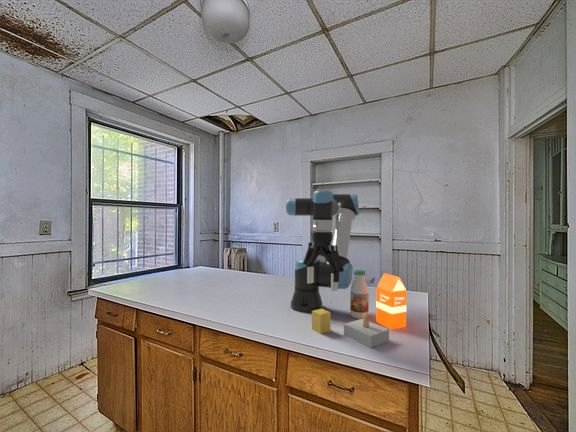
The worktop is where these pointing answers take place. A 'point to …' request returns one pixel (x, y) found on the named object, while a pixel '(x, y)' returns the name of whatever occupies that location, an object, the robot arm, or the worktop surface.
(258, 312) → the worktop surface
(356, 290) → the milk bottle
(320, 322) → the yellow rectangular block
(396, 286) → the orange juice
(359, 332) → the toggle switch box
